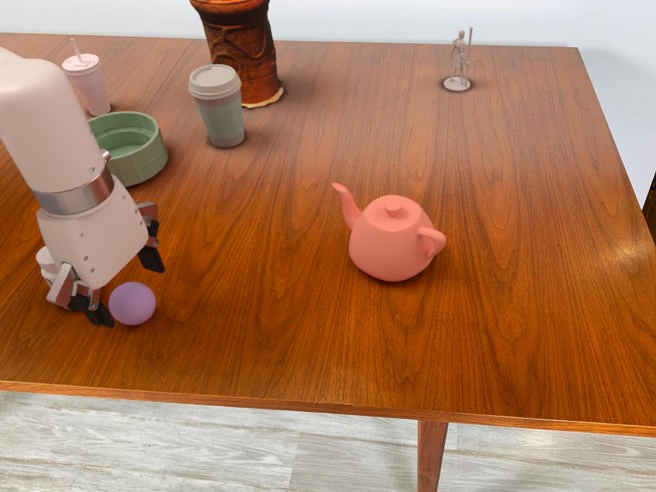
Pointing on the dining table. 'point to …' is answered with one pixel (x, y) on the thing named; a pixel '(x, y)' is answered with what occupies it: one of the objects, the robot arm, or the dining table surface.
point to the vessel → (243, 45)
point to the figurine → (459, 64)
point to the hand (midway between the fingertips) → (130, 295)
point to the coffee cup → (219, 103)
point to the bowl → (130, 145)
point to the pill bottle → (51, 269)
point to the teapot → (390, 236)
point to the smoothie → (88, 80)
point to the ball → (132, 303)
